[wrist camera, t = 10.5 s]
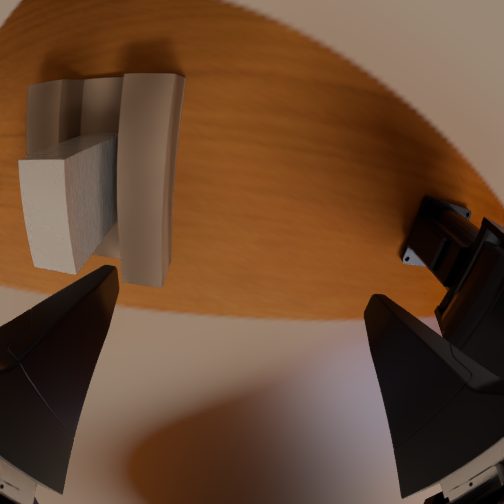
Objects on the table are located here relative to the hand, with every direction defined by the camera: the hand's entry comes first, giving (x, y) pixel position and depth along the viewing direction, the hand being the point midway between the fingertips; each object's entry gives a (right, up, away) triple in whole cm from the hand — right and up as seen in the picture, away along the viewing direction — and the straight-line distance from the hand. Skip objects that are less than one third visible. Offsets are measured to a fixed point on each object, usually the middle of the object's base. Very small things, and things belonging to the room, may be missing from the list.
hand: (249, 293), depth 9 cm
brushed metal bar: (-10, +7, +9) cm, 15 cm away
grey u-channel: (-10, +7, +9) cm, 16 cm away
